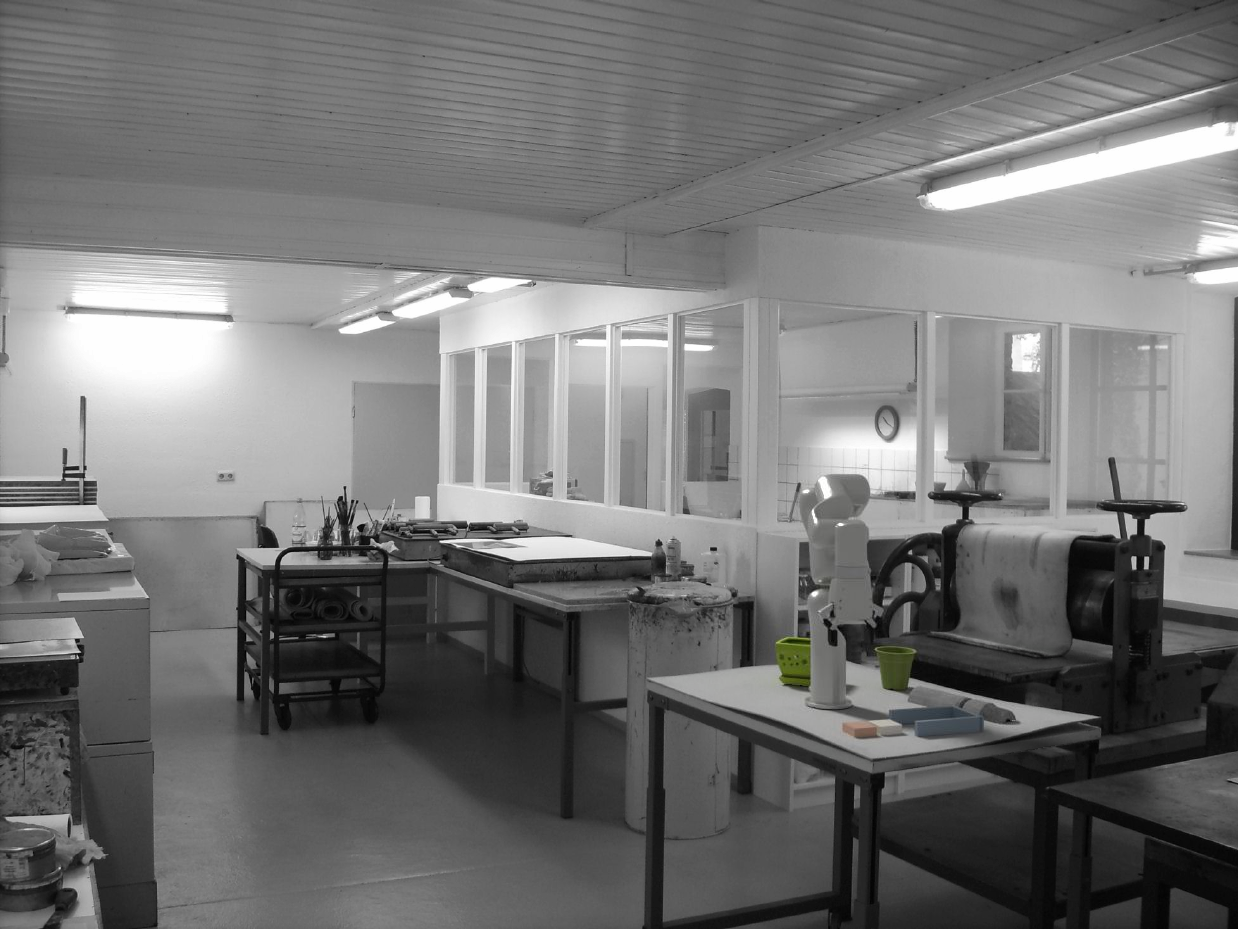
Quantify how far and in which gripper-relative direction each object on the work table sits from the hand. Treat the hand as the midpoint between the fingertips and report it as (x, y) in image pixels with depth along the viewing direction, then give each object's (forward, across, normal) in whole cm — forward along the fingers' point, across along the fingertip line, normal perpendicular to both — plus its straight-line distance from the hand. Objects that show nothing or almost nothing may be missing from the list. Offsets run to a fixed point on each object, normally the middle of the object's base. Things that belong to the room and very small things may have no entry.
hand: (850, 644), depth 256 cm
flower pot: (+23, -20, -61) cm, 68 cm away
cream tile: (+23, -12, -4) cm, 26 cm away
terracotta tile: (+23, -4, -4) cm, 24 cm away
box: (+23, -26, -3) cm, 34 cm away
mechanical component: (+23, -43, -16) cm, 52 cm away
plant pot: (+23, -42, -46) cm, 67 cm away
